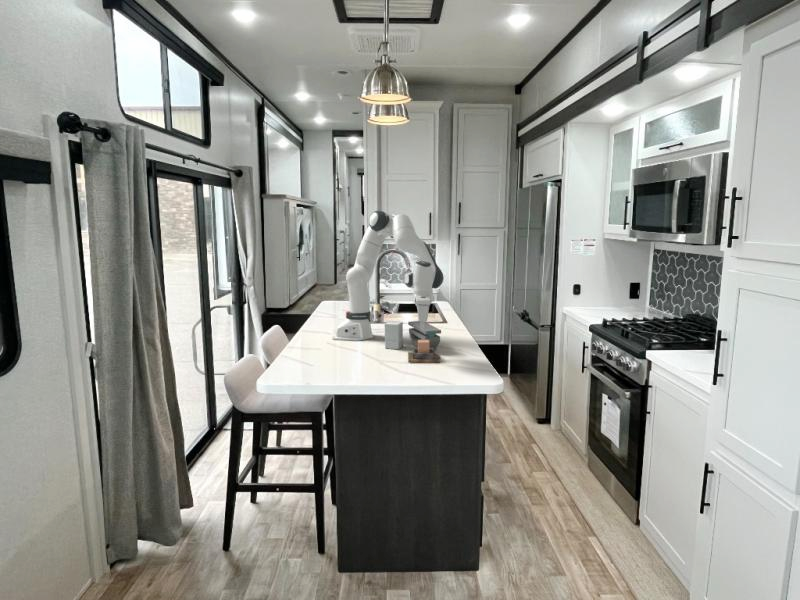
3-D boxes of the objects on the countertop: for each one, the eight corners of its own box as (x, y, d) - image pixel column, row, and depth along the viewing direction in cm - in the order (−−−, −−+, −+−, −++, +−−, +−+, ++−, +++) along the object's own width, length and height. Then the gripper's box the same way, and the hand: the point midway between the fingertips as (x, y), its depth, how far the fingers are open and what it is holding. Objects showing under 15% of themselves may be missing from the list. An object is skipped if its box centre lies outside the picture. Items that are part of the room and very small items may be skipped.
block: (418, 357, 224) (418, 342, 223) (417, 354, 229) (417, 339, 228) (429, 357, 224) (429, 342, 223) (428, 354, 229) (428, 339, 228)
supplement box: (403, 346, 249) (403, 321, 248) (398, 349, 243) (398, 324, 241) (389, 345, 252) (389, 320, 250) (384, 348, 245) (384, 323, 243)
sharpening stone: (440, 352, 238) (441, 330, 236) (425, 353, 235) (425, 331, 233) (422, 340, 261) (422, 320, 259) (408, 342, 259) (408, 321, 257)
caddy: (408, 362, 219) (408, 354, 219) (408, 354, 233) (408, 347, 233) (439, 362, 219) (440, 354, 219) (437, 354, 233) (437, 347, 233)
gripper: (415, 294, 232) (414, 323, 234) (416, 301, 212) (415, 332, 214) (429, 294, 232) (428, 323, 234) (430, 301, 212) (429, 333, 214)
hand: (422, 328), depth 224 cm, fingers open, 8 cm apart
